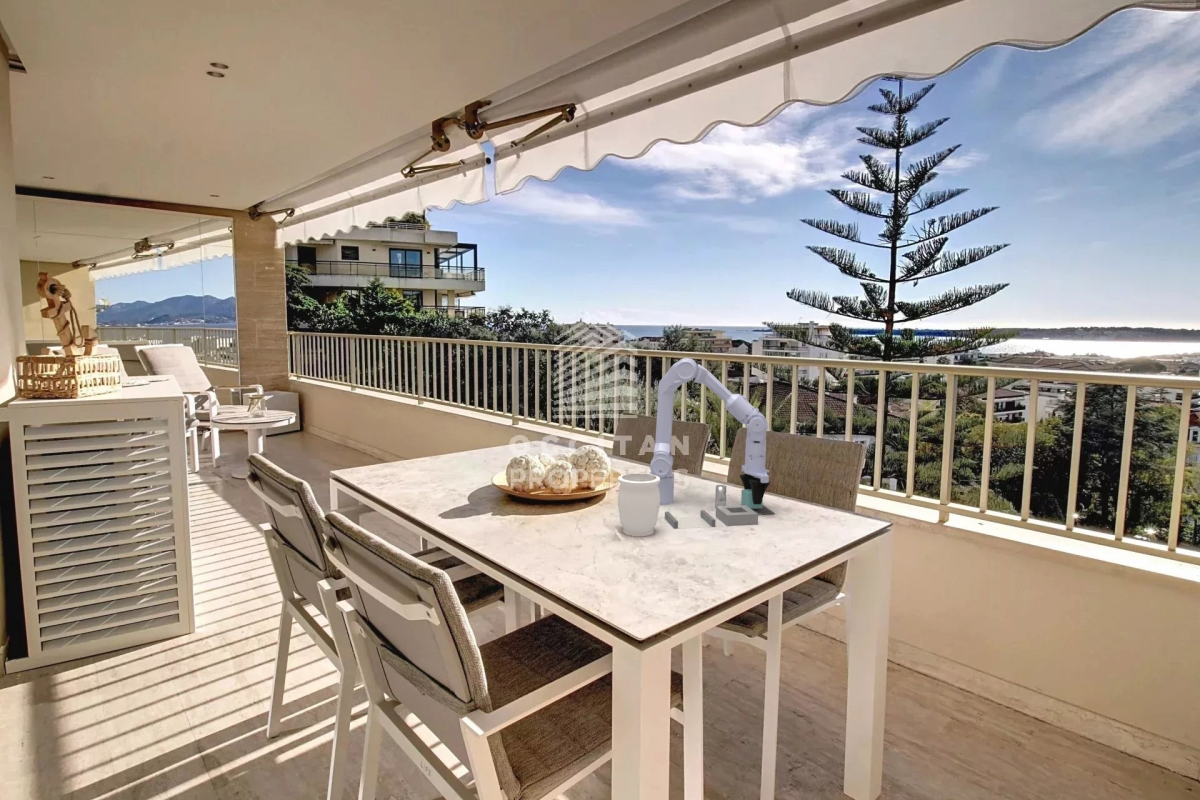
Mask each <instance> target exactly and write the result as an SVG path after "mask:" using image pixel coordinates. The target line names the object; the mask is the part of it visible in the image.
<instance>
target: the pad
mask: <svg viewBox="0 0 1200 800" xmlns="http://www.w3.org/2000/svg"><path fill="white" fill-rule="evenodd" d="M752 510H753V511H755V512H756V513H758V516H760V515H759V514H768V515H776V513H775V512H774V511H772V510H771V509H770V508H767V507H766V506H765V505H763V508H756V509H752Z"/></svg>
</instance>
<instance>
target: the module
mask: <svg viewBox="0 0 1200 800" xmlns="http://www.w3.org/2000/svg"><path fill="white" fill-rule="evenodd" d="M740 496H741V501H740V502H741V504H740V505H746V506H748V507H749V508H750V509H756V508H763V506H764V504H763V500H764V499H763V500H762V503H761V504H754V503H753V497H752V489H744V488H743V489H741V495H740Z"/></svg>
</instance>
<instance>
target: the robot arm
mask: <svg viewBox="0 0 1200 800" xmlns="http://www.w3.org/2000/svg"><path fill="white" fill-rule="evenodd" d="M693 379H694V383H697V384H703V385H704V386H706V388H709V390H711V391H712V392H713V393H714V394H715V395H716V396H717V397H718V398H719V399H721V400H722V401H723V402H724V404H725V405H724V407H725V408H724V409H726V411H728V412H729V414H731V416H733V418H735V419H736V420H737V421H738V422H739V423H741V424H743V425H745V428H746V429H747V430H746V438H745V446H744V447H745V454H744V464H741V472H742V474H740V475H739V479H740V480H741V482H742V485H743V489H752V497H753V503H754V504H761V503H762V500H764V495H765V493H766V491H767V489H768V487H769V486H770V484H771V481H770V476H769V475H768V474H769V473H770V470H769V469H766V461H767V459H766V458H767V431H768V429H769V425H768V424H769V423H768V421H767V418H766V417H765V416H764V415H763V413H762V412H760V410H759V408H758V407H754V406H753V405H752V404H751V403H750V402H749V401H748V400H747V399H748V398H747V397H746V396H745V395H743V394H742V395H741V394H740V393H732V392H731V391H730V390H729V389H728V388H727V387H726V386H725V385H724V384H723V383H721V381H720V380H718V379H717V377H716V376H715V375H714V374H712V373H711V372H710V370H708V369H706V367H704V366H702V365H701V364H699V363H698V364H697V362H696V361H695V360H694V359H693V358H690V357H683V358H681V359H680V360H677V361H676V362H675V363H674V364H673V365H672V366H671V367H669V369H668V371H666V373H665V374H664V376H663V377H662V378H661V379H660V381H659V382H658V391H657V406H656V407H657V409H656V426H655V427H656V428H655V443H654V449H653V457H652V459H651V461H650V464H649V469H650V472H649V474H651V475H655V476H658V477H659V478H660V483H659V484H658V487H659V493H660V505H671V504H673V503H674V494H675V490H674V489H675V487H674V486H675V485H674V484H675V473H674V472H673V471H672V469H673V465H674V456H673V454H672V436H673V435H672V433H673V418H674V416H673V415H674V400H675V399H674V397H675V396H674V395H675V391H676V390H678V388H679V387H680V386H682V384H685V383H688V382H690V381H692V380H693ZM743 473H744V474H743Z"/></svg>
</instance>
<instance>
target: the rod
mask: <svg viewBox="0 0 1200 800" xmlns="http://www.w3.org/2000/svg"><path fill="white" fill-rule="evenodd" d="M714 493H715V496H714V497H715V499H714V501H715V504H714V508H715V509H716V506H727V485H724V484H716V485H715V492H714Z"/></svg>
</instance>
